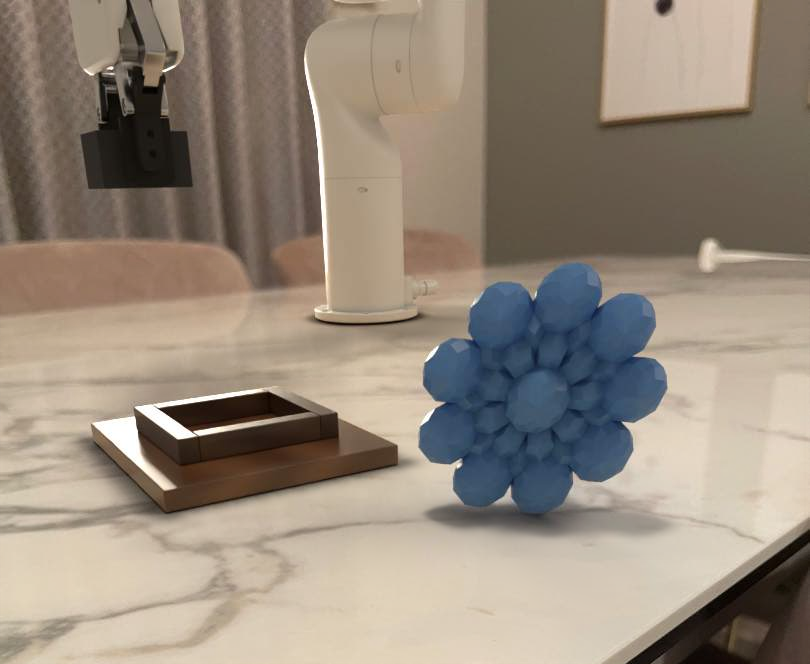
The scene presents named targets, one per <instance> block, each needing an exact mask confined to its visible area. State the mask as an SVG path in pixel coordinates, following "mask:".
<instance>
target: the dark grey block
mask: <svg viewBox="0 0 810 664" xmlns="http://www.w3.org/2000/svg"><path fill="white" fill-rule="evenodd" d="M79 136H80V143H81V149H82V156H83V161H84V169H85V175H86V181H87V188H88V190H119V189H121V190H123V189H167V188H168V189H170V188H171V189H172V188H174V189H175V188H193V187H194V183H193V182H194V181H193V175H192V173H193V172H192V163H191V155H190V145H189V137H188V131H187V130H171V139H172V148H173V156H174V165H175V174H176V180H175V182H174V183H173V184H139V185H132V184H129V183H128V182H127V180H126V174H125V166H124V159H123V152H122V144H121V137H120V130H99V129H95V130H92V131H88V132H84V133H81V134H79Z"/></svg>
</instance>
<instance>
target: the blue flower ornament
mask: <svg viewBox="0 0 810 664" xmlns="http://www.w3.org/2000/svg"><path fill="white" fill-rule="evenodd" d="M602 298H603V285H602V281H601V278H600V275H599V273H598V272H597V271H596V270H595V269H594V268H593V267H591V266H590V265H589V264H585V263H582V262H565V263H564V264H562V265H560V266H558V267H556V268H554V269H553V270H552V271H550V272H549V273H547V274H546V275H545V276H544V277H543V278H542V280H541V281H540V284H539V285H538V287H537V289H536V291H535V294H534V297H533V298H532V296H531V294H530V292H529V290H527V289H526V288H525V287H524V286H523V284H521V283H519V282H515V281H497V282H495V283H494V284H493V283H492V284H491V285H490V286H487V287H486V288H485V289H483V290H482V291H481V292H480V293H479V294H478V295H476V297H475V299H474V301H473V302H472V304H471V306H470V307H469V311H468V315H467V333H468V334H469V336H470V338H471V339H468V338H462V337H461V338H460V337H450V338H448V339H447V340H445V341H443V342H441V343H439V344H438V345H437V346H436V347H435V348H433V349H432V350H431V351H430V353H429V355H428V356H427V358H426V360H425V361H424V364H423V368H422V369H423V370H422V386H423V387H424V389H425V390H426V392H427V393H428V394H429V396H430V397H431V398H432V399H433V400H434V401H435V402H439V403H443V404H441V405H438V406H437V407H435V408H434V409H432V410H431V411H430V412H428V413H426V415H425V417H424V418H423V420H422V422H421V423H420V425H419V428H418V434H417V445H418V446H417V447H418V449H419V450H420V452H421V453H422V454H423V455H424V456H425V458H426V459H427V460H428V461H429V463H432V464H439V465H453V464H454V463H456V462H457V461H459V462H458V464H457V465H456V467H455V469H454V472H453V476H452V491H453V492H454V494H455V495H456V496H457V498H458V499H459V500H460V501H461V502H462V503H463V505H465V506H468V507H473V508H486V507H488V506H491V505H492V504H494V503H496V502H497V501H499V500H501V499H502V498H504V497H505V496H506V494H507V492H508V491H509V489H510V497H511V499H512V500H513V502H514V503H515V505H516V506H517V507H518V508H519V509H520V510H521V512H523V513H526V514H532V515H545V514H547V513H549V512H552V511H553V510H556V509H557V508H558V507H560V506H561V505H562V504H564V503H565V501H566V499H567V497H568V495H569V493H570V492H571V490H572V487H573V485H574V475H576V477H577V479H579V480H580V481H585V482H589V483H603V482H605V481H607V480H610V479H612V478H614V477H615V476H617V475H618V474H620V473H621V472H623V470H624V468H625V467H626V465H627V464H628V462H629V460H630V458H631V456H632V455H633V453H634V450H635V449H634V437H633V434H632V432H631V430H630V429H629V428H628V427H627V426H626V425H625V424H624V423H630V424H634V423H637V422H638V421H641V420H642V419H644V418H646V417H648V416H649V415H651V414H652V413H654V412H655V411H657V409H658V407H659V405H660V404H661V402H662V400H663V398H664V397H665V394H666V392H667V391H668V388H669V387H668V377H667V373H666V369H665V367H664V365H662V364H661V363H660V362H659V361H658V360H657V359H656V358H654V357H653V358H651V357H647V356H636V355H637V354H639V353H641V352H642V351H645V348H646V347H647V345H648V344H649V341H650V340H651V338H652V336H653V334H654V332H655V329H656V328H657V319H656V311H655V308H654V305H653V303H651V301H650V300H649V299H648V298H646V297H645V296H644V295H642V294H638V293H634V292H633V293H632V292H631V293H630V292H629V293H626V292H625V293H622V292H621V293H618V294H617V295H615V296H613V297H611V298H608V300H606V301H605V302H603V303H602V304H600V303H601V301H602Z"/></svg>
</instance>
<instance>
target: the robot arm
mask: <svg viewBox="0 0 810 664" xmlns="http://www.w3.org/2000/svg"><path fill="white" fill-rule="evenodd" d="M67 1H68V8H69V16H70V22H71V29H72V34H73V40H74V46H75V51H76V55H77V60H78V63H79V66H80V68H81V69H82V70H83V71H84V72H86V73H87V74H89V76H91V79H92V82H93V87H94V90H93V91H94V96H95V97H94V98H95V111H96V118H97V128H98V129H97V130H120V137H121V144H122V152H123V159H124V166H125V174H126V180H127V182H128V183H129V184H132V185H139V184H173V183H174V182H175V180H176V174H175V165H174V156H173V148H172V139H171V131H172V130H171V123H170V122H171V121H170V117H169V113H170V108H169V107H170V106H169V101H168V96H167V95H168V94H167V90H166V83H167V78H166V75H165V72H167V71H169V70H172V69H173V68H175V67H177V66H178V65H180V63H181V62H182V60H183V58H184V55H185V41H184V34H183V26H182V19H181V13H180V6H179V0H67ZM333 1H335V2H337V3H342V4H371V3H383V2H395V1H396V2H397V0H333ZM416 1H417V5H418V11H412V12H403V13H402V12H401V13H399V12H398V13H388V14H384V13H379V14H366V15H353V16H344V17H341V18H335V19H331V20H328V21H326V22H323V23H322V24H321V25H318V26H317V27H316V28H315V29H314V30H313V31H312V32H311V34H309V37H308V39H307V42H306V44H305V49H304V72H305V77H306V83H307V88H308V92H309V96H310V101H311V105H312V111H313V116H314V124H315V132H316V140H317V149H318V152H317V153H318V165H319V184H320V186H319V187H320V204H321V220H322V221H321V222H322V241H323V256H324V257H323V258H324V259H323V260H324V274H325V293H326V303H324V304H321V305H320V304H319V305H317V306H316V307H315V308H314V317H315V318H316V319H317V320H320V321H324V322H327V323H328V322H329V323H340V324H377V323H388V322H396V321H397V322H398V321H403V320H408V319H412V318H414V317H416V316H417V315H418V314H419V313H418V312H419V311H418V308H419V307H418V305H417V304H416V303H414V302H413V300H416V299H417V298H418V297H421V296H422V297H427V296H429V297H430V296H436V295H437V294H438V293H439V290H440V287H439V282H438V280H437V279H435V278H432V279H431V278H430V279H422V280H418V281H417V280H416V279H414V278H413V276H411V275H406V274H405V253H404V252H405V251H404V250H405V249H404V246H405V245H404V244H405V243H404V203H403V201H404V199H403V197H404V196H403V161H402V156H401V153H400V151H399V148H398V146H397V144H396V142H395V141H394V139H393V138H392V136H391V135H390V133H389V132H388V131H387V130H386V128H385V127H384V125H383V123H382V122H381V120H380V117H382V116H390V115H399V114H400V115H402V114H403V115H404V114H421V113H422V114H423V113H437V112H442V111H445V110H448V109H450V108H452V107H453V106H454V105H456V103H457V101H458V100H459V98H460V96H461V93H462V91H463V90H462V89H463V85H464V77H465V76H464V75H465V56H466V55H465V53H466V52H465V51H466V48H465V47H466V0H416Z"/></svg>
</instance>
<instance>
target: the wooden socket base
mask: <svg viewBox="0 0 810 664" xmlns="http://www.w3.org/2000/svg"><path fill="white" fill-rule="evenodd" d="M90 429H91V435H92V440H93V441H94V443H95V444H97V445H98V446H99V447H100V448H101V449H102V450H103V451H104V452H105V453H106V454H107V455H108V456H109V457H110V458H111V459H112V460H113V461H114V462H115V463H116V464H117V465H118V466H119V467H120V468H121V469H122V470H123V471H124V472H125V473H126V474H127V475H128V476H129V477H130V478H131V479H132V481H134V482H135V483H136V484H137V485H138V486H139V487H140V488H141V489H142V490H143V491H144V492H145V493H146V494H147V495H148V496H149V497H150V498H151V499H152V500H153V501H154V502H156V504H157V505H159V506H160V508H161V509H163V510H164V511H165V513H171V512H172V513H173V512H176V511H180V510H186V509H190V508H195V507H200V506H203V505H211V504H213V503H218V502H224V501H229V500H232V499H233V500H234V499H237V498H242V497H248V496H250V495H256V494H261V493H266V492H270V491H276V490H280V489H285V488H289V487H294V486H300V485H303V484H309V483H313V482H319V481H322V480H323V481H324V480H327V479H333V478H337V477H341V476H342V477H343V476H347V475H352V474H357V473H360V472H366V471H371V470H375V469H380V468H384V467H389V466H394V465H398V464H399V445H398V444H396V443H395V442H392V441H390V440H388V439H385V438H383V437H381V436H379V435H378V434H375V433H373V432H371V431H368V430H366V429H365V428H362V427H360V426H357V425H355V424H353V423H351V422H349V421H346V420H344V419H343V418H340V417H339V413H338V412H337V411H335V410H333V409H331V408H329V407H326V406H324V405H322V404H319V403H318V402H315V401H314V400H313V401H312V400H311V399H309V398H306V397H304V396H301V395H300V394H297V393H295V392H292V391H290V390H288V389H287V388H284V387H281V386H279V385H275V386H265V387H262V388H255V389H247V390H241V391H233V392H227V393H220V394H215V395H213V394H212V395H207V396H199V397H195V398H187V399H186V398H185V399H180V400H173V401H167V402H160V403H154V404H146V405H140V406H134V407H133V416H130V417H124V418H117V419H110V420H104V421H97V422H92V423H90Z"/></svg>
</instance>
